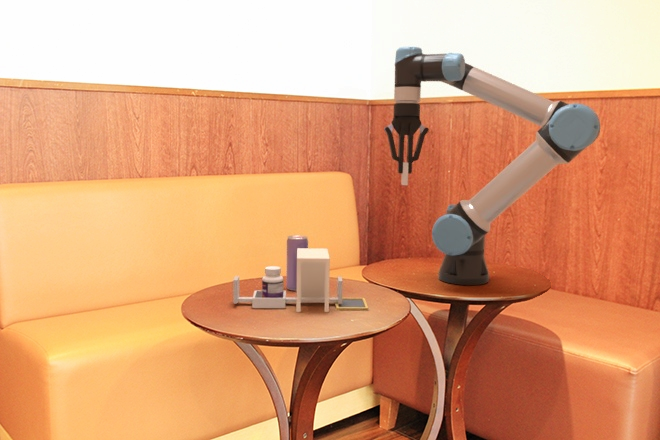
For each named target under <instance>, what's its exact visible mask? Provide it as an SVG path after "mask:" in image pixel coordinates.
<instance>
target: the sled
mask: <svg viewBox="0 0 660 440" xmlns="http://www.w3.org/2000/svg"><path fill="white" fill-rule="evenodd" d="M336 282H337V283H336V284H337V286H336V288H337V289H336V290H337V291H336V295H337V296H336V297H330V296H329V304H330V303H334V304H335V303H338V304H342V298H343V285H344V284H343V277H342V276H337V281H336ZM232 284H233V285H232V290H233V291H232V293H233V294H232V296H233V299H232V300H233V302H232V303H233V304H238V303H251V304H252V305H251V306H252V307H251V308H252V309H286V304H287V303H297V296H296V297H295V296H293V297H291V296H289V297H287V291H286V290H283V298H262V289H260V290H255V289H254V291H253V295H252V296H240V275H235V276H234V277H233V280H232ZM301 303H325V297H301Z"/></svg>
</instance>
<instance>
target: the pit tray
mask: <svg viewBox="0 0 660 440" xmlns="http://www.w3.org/2000/svg"><path fill="white" fill-rule="evenodd" d="M334 304H335V310H336V311H369V306H368V304H367V301H366V299H365V297H342V304H338V303H334Z"/></svg>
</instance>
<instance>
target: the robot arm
mask: <svg viewBox="0 0 660 440" xmlns="http://www.w3.org/2000/svg"><path fill="white" fill-rule="evenodd" d="M395 51H396V52H395V62H394V89H393V90H394V94H393V95H394V97H393V101H394V102H395V103H394V104H393V118H392V119H391V120H392V121H391V123H390V124H389V125H388V126H385V127H384V128H383V130H384V132H385V133H386V135H387V139H388V144H389V149H390V154H391V158H392V160H393V161H396V162H397V165H398V167H397V173H398V174H401V175H400V176H401V178H400V180H401V182H400V185H401V186H408V185H409V175H410V174H412V172H413V162H415V161H418V160H419V159H420V155H421V152H422V147H423V145H424V141H425V140H424V139H425V136H426V135H427V133H428V132H429V128H428V127H426V126H424V125H423V124H422V120H421V105H420V102H421V89H422V88H421V87H422V82H441V83H444V84H447V85H449V86H451V87H454V88H456V89H458V90H460V91H463V92H465V93H467V94H469V95H471V96H473V97H476V98H479V99H480V100H482V101H484V102H487V103H489V104H491V105H493V106H494V107H495V106H496V107H498V108H499V109H502V110H505V111H507V112H508V113H511V114H513V115H515V116H517V117H519V118H521V119H523V120H526V121H528V122H530V123H531V124H534V125H537V126H538V127H540V128H539V129H538V130H537V131H536V135H535V141H533V142H532V143H531V144H530V145H529V146H528V147H527V148H526V149H525V150H523V152H521V153H520V154H519V155H518V156H517V157H516V158H514V159H513V160H512V161H511V162H510V163H509V164H508V165H507V166H505V168H504V169H502V170H501V171H500V172H499V173H498V174H497V175H496V176H495V177H494V178H492V180H490V181H489V182H487V184H486V185H485V186H483V187H482V188H481V189H480V190H479V191H478V192H477V193H476V194H474V195H473V196H472V197H471V198H470V199H461V200H460V201H459V202H457V204H449V205H447V209H446V212H445V214H444V215H442V216H439V217H438V218H437V219H436V221H435V222H434V224H433V226H432V229H431V238H432V242H433V244H434V246H435V247H436V248H437V250H439V251H440V252H441V253H443V254H444V257H443V260H442V262H441V265H440V268H439V271H438V280H439V281H442V282H444V283H448V284H452V285H453V284H454V285H461V286H462V285H463V286H476V285H477V286H478V285H485V284H488V283H489V282H490V281H489V280H490V274H489V269H488V266H487V262H486V258H485V247H486V246H485V242H486V234H488V233H489V232H490V231H491V224H492V222H493V221H495V220H496V219H497V218H498V217H499V216H500V215H501V214H502V213H504V212H505V211H506V210H507V209H508V208H510V207H511V206H512V205H513V204H514V203H515V202H516V201H518V200H519V199H520V198H521V197H522V196H523V195H525V194H526V193H527V192H528V191H529V190H531V188H532V187H534V186H535V185H536V184H538V182H539V181H540V180H542V179H543V178H544V177H545V176H547V175H548V173H550V172H551V171H552V170H553V169H554V168H555V167H557V166H558V165H560V164H561V165H562V164H563V165H564V164H567V165H568V164H569V163H570V162H572V160H574V159H575V158H576V157H577V156H578V155H580V154H581V153H582V152H583V151H584V150H586V149H587V148H588V147H589V146H590V145H592V144H594V142H595V141H596V140H597V138H598V137H599V135H600V131H601V121H600V118H599V116H598V114H597V113H596V112H595V110H594V109H592V108H591V107H590V106H588V105H585V104H583V103H567V102H565V101H562V100H557V101H554V100H553V101H552V100H550V99H548V98H545V97H543V96H542V95H539V94H537V93H535V92H532V91H530V90H528V89H525V88H523V87H521V86H518V85H516V84H515V83H512V82H509V81H507V80H505V79H503V78H500V77H498V76H496V75H493V74H492V73H489V72H487V71H485V70H482V69H480V68H478V67H476V66H473V65H471V64H469V63H467V62H466V61H465V60H466V59H465V58H464V57H465V56H464V55H463V54H462V53H454V52H448V53H434V54H433V53H432V54H431V53H429V54H428V53H427V54H424V53H423V50H422V48H421V47H418V46H403V47H399V48H397V50H395ZM418 130H419V135H418V138H417V143H416V145H415V149H414V135H415V134H416V133H417V132H418ZM394 131H395V132H396V134H397V135H398V152H397V149H396V144H395V140H394V135H393V132H394ZM405 136H407V137H406V138H407V141H406V142H407V145H406V147H407V148H406V151H407V152H406V162H405V161H404V160H405V159H404V157H405V156H404V155H405ZM413 149H414V150H413ZM413 151H414V153H413ZM397 154H398V155H397ZM487 282H488V283H487Z"/></svg>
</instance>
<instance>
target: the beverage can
mask: <svg viewBox="0 0 660 440" xmlns="http://www.w3.org/2000/svg"><path fill="white" fill-rule="evenodd" d="M297 248H309V239H308V236H306V235H301V234H300V235H299V234H298V235H295V234H294V235H289V236H287V239H286V289H287V290H289V291H292V292H297Z"/></svg>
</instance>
